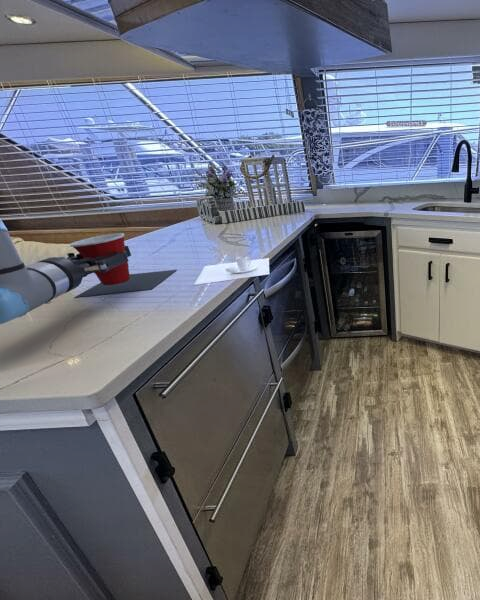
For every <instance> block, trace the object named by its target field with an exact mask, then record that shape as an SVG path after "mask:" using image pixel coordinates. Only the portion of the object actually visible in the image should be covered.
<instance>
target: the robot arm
mask: <svg viewBox="0 0 480 600" xmlns="http://www.w3.org/2000/svg"><path fill="white" fill-rule="evenodd" d="M66 255H67V257H66V256H60V257H59V256H58V257H57V256H53V257H47V258H43V259H41V260H38V261H35V262H32V263H29V264H26V265H25V263H24V262H23V261H22V258H21V257H20V254H19V252H18V250H17V248H16V246H15V243H14V242H13V240H12V237H11V235H10V233H9V230H8V228H7V227H6V225H5V223H4V222H3V220H2V219H1V218H0V325H3V324H5V323H8V322H10V321H13V320H16V319H18V318H21V317H23V316H26V315H27V314H29V313H30V312H32V311H33V310H35V309H37V308H39V307H41V306H42V305H44V304H45V305H49V304H51V303H52V300H54V299H57V298H58V297H60V296H62V295H65V294H67V293H69V292H71V291H72V290H75V289H76V288H78V287H79V286H80V285H81V283H82V281H83V279H84V278H86V277H87V276H88V275H92V274H95V272H97V271H98V270H99V272H101V273H105V272H107V271H108V270H109V269H112V268H114V267H116V266H119V265H121V264H123V263H126V262H128V263H129V257H131V256H132V253H131V250H130V247H129V246H128V245H125V251H124V252H120V253H119V252H114V253H111V254H106V255H103V256H99V257H96V258H83V257H82V255H80V253H79V252H78V253H77V254H75V253H74V252H67V253H66Z"/></svg>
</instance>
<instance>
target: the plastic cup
mask: <svg viewBox="0 0 480 600" xmlns="http://www.w3.org/2000/svg"><path fill="white" fill-rule="evenodd" d="M69 246H70V248H71V247H72V248H73V249H74V250H76V251H77V252H78V254H79V253H80V255H82V257H83V258H96V257H99V256H103V255H106V254H111V253H114V252H119V253H120V252H124V251H125V246H126V245H125V233H124V232H123V233H122V232H117V233H109V234H103V235H97V236H92V237H88V238H84V239H80V240H77V241H73V242H71V243H69ZM129 269H130V268H129V261H128V262H126V263H123V264H121V265H119V266H116V267H114V268H112V269H109V270H108V271H107V272H105V273H101V272H99V270H98V271H97V272H95V273H94V274H95V276H96V278H98V280H99V282H100V283H102V284H103V285H115V284H120V283H124V282H126V281H129V280H130V270H129Z"/></svg>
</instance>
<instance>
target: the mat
mask: <svg viewBox="0 0 480 600" xmlns="http://www.w3.org/2000/svg"><path fill="white" fill-rule="evenodd" d="M177 271H178V269H170V270H160V271H159V270H158V271H149V272H140V273H139V272H138V273H131V274H130V273H129V274H130V280H129V281H126V282H124V283H120V284H115V285H103V284H102V283H101V282H99V283H97V284H95V285H94V286H92V287H90V288H88V289H86V290H85V291H83V292H80V294H77V295H75V296H74V297H73V299H76V298H77V299H78V298H86V297H94V296H95V297H96V296H105V295H114V294H115V295H116V294H122V293H123V294H124V293H131V292H133V293H134V292H140V291H141V292H142V291H151V290H153V289H155V288H156V287H157V286H159V285H160V284H161V283H163V282H164V281H165V280H166V279H168V278H169V277H170V276H171V275H173V274H174V273H175V272H177Z"/></svg>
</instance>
